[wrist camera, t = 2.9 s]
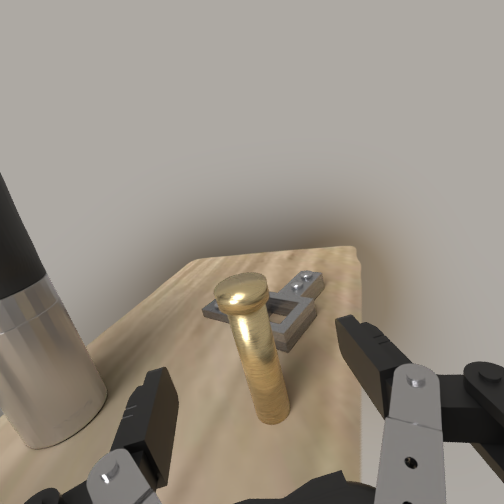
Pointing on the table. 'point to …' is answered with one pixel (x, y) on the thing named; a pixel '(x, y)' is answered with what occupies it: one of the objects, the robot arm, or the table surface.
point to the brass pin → (255, 342)
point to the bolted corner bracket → (286, 308)
